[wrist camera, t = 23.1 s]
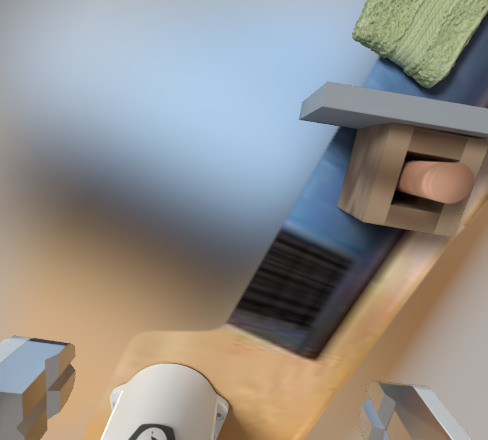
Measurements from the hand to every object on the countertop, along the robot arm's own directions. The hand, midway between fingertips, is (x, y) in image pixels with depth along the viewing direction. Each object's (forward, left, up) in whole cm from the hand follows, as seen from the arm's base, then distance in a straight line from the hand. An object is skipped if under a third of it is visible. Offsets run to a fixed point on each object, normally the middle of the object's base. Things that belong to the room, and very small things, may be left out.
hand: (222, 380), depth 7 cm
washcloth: (+27, -18, -30) cm, 44 cm away
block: (+6, -18, -29) cm, 35 cm away
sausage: (+6, -18, -29) cm, 35 cm away
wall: (+12, -18, -29) cm, 36 cm away
